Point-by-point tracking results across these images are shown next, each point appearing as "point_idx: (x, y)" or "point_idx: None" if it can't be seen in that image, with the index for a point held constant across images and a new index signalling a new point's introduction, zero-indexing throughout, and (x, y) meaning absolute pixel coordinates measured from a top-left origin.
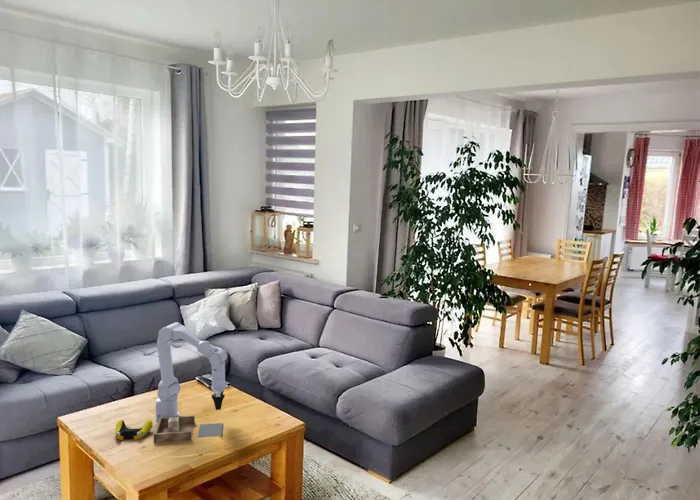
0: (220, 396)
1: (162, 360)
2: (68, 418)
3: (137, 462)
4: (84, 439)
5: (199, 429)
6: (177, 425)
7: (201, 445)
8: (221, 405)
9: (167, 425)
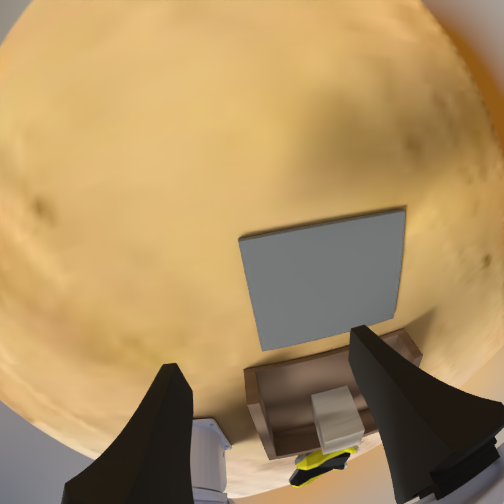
0: (494, 439)
1: None
2: (235, 496)
3: (449, 383)
4: None
5: (319, 337)
6: (358, 414)
7: (444, 280)
8: (393, 349)
9: (270, 425)
